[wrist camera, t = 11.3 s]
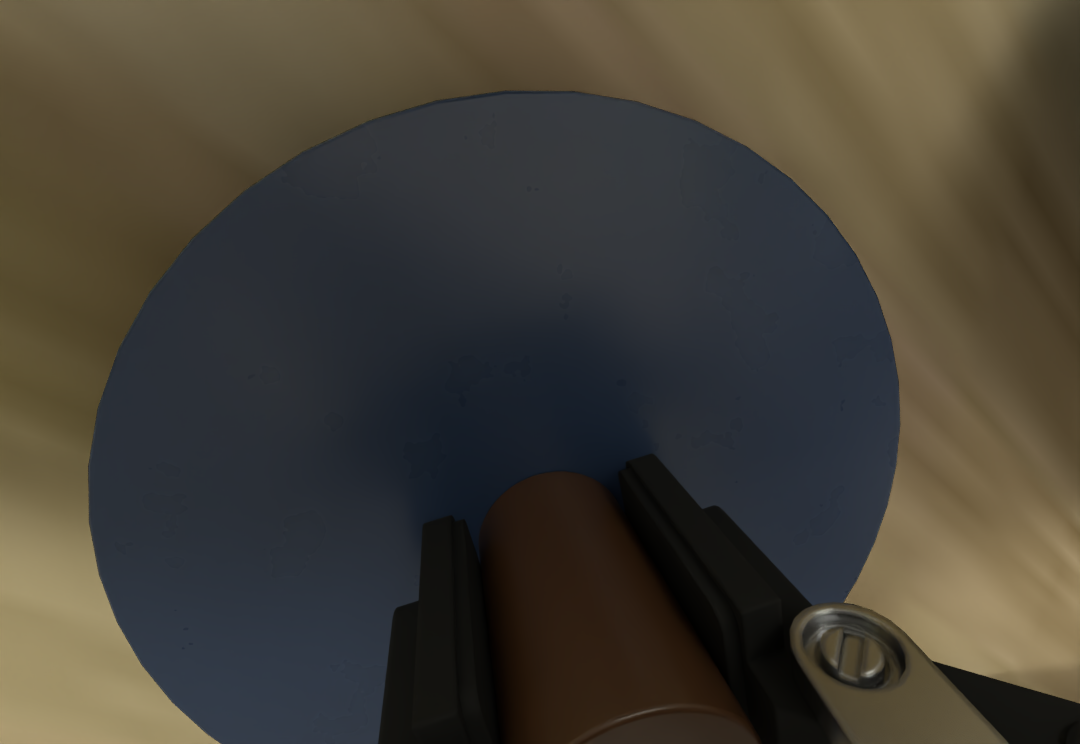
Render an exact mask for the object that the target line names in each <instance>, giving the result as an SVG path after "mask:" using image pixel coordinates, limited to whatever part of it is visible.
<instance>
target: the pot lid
mask: <svg viewBox="0 0 1080 744" xmlns="http://www.w3.org/2000/svg"><path fill="white" fill-rule="evenodd" d="M899 432H900V404H899V381H898V375H897V369H896V363H895V358H894V352H893V346H892V341H891V337H890V334H889V331H888V328H887V325H886V322H885V319H884V316H883V313H882V310H881V307H880V303H879V300H878V297H877V295H876V293H875V291H874V289H873V287H872V285H871V283H870V281H869V279H868V277H867V275H866V273H865V272H864V270H863V268H862V266H861V264H860V262H859V260H858V258H857V256H856V254H855V253H854V251H853V250H852V249H851V247H850V246H849V244H848V243H847V242H846V240H845V239H844V238H843V236H842V235H841V233H840V232H839V231H838V229H837V228H836V226H835V225H834V224H833V222H832V221H831V220H830V218H829V217H828V215H827V214H826V213H825V212H824V211H823V210H822V209H821V208H820V207H819V206H818V205H817V204H816V203H815V202H814V201H813V200H812V199H811V198H810V197H809V196H808V195H807V194H806V193H805V192H804V191H803V190H802V189H801V188H800V187H799V186H798V185H797V184H796V183H795V182H794V181H793V180H792V179H791V178H789V177H788V176H787V175H785V174H784V173H782V172H781V171H780V170H778V169H777V168H775V167H774V166H773V165H771V164H770V163H769V162H767V161H766V160H764V159H763V158H762V157H760V156H759V155H758V154H756V153H755V152H753V151H752V150H751V149H749V148H748V147H747V146H745V145H743V144H741V143H739V142H737V141H735V140H733V139H731V138H729V137H727V136H725V135H723V134H721V133H719V132H717V131H715V130H713V129H711V128H709V127H707V126H705V125H703V124H701V123H699V122H697V121H695V120H693V119H690V118H687V117H683V116H680V115H677V114H674V113H671V112H668V111H665V110H662V109H659V108H656V107H653V106H650V105H646V104H643V103H640V102H637V101H631V100H625V99H619V98H613V97H607V96H600V95H594V94H588V93H582V92H575V91H499V92H492V93H485V94H478V95H471V96H464V97H457V98H450V99H443V100H436V101H433V102H430V103H426V104H423V105H419V106H416V107H413V108H409V109H406V110H403V111H399V112H396V113H393V114H389V115H386V116H383V117H379V118H376V119H372V120H369V121H367V122H365V123H362V124H360V125H358V126H356V127H354V128H352V129H350V130H347V131H345V132H343V133H341V134H339V135H337V136H335V137H333V138H330V139H328V140H326V141H324V142H322V143H320V144H318V145H315V146H313V147H311V148H309V149H307V150H305V151H303V152H301V153H300V154H298V155H297V156H295V157H294V158H292V159H291V160H289V161H288V162H286V163H285V164H283V165H282V166H280V167H279V168H277V169H276V170H274V171H273V172H271V173H270V174H268V175H267V176H265V177H264V178H262V179H261V180H259V181H258V182H256V183H255V184H253V185H252V186H250V187H249V188H247V189H246V190H244V191H243V192H242V193H241V194H240V195H239V196H238V197H237V198H236V199H234V200H233V201H232V202H231V203H230V204H229V205H228V206H227V207H226V208H225V209H224V210H223V211H221V212H220V213H219V214H218V215H217V216H216V217H215V218H214V219H213V220H212V221H211V222H209V223H208V224H207V225H206V226H205V227H204V228H203V229H202V230H201V231H200V232H199V233H197V234H196V235H195V236H194V237H193V238H192V239H191V240H190V242H189V243H188V244H187V246H186V247H185V248H184V249H183V251H182V252H181V253H180V254H179V256H178V257H177V258H176V259H175V261H174V262H173V263H172V265H171V266H170V267H169V268H168V270H167V271H166V272H165V273H164V275H163V276H162V277H161V278H160V280H159V281H158V282H157V283H156V285H155V286H154V287H153V289H152V290H151V291H150V293H149V294H148V296H147V298H146V300H145V302H144V304H143V305H142V307H141V309H140V311H139V313H138V314H137V316H136V318H135V320H134V322H133V323H132V325H131V327H130V329H129V331H128V332H127V334H126V336H125V338H124V340H123V341H122V343H121V345H120V347H119V349H118V352H117V355H116V357H115V360H114V363H113V366H112V369H111V372H110V375H109V378H108V380H107V383H106V386H105V389H104V392H103V395H102V398H101V400H100V403H99V406H98V410H97V416H96V422H95V428H94V434H93V441H92V447H91V453H90V459H89V465H88V485H89V525H90V530H91V535H92V541H93V546H94V551H95V556H96V562H97V567H98V572H99V576H100V579H101V581H102V584H103V587H104V589H105V592H106V594H107V597H108V600H109V602H110V605H111V608H112V610H113V613H114V616H115V618H116V621H117V623H118V625H119V627H120V628H121V630H122V632H123V634H124V635H125V637H126V639H127V640H128V642H129V644H130V646H131V647H132V649H133V651H134V652H135V654H136V656H137V658H138V659H139V661H140V663H141V665H142V666H143V667H144V668H145V670H146V671H147V672H148V673H149V674H150V676H151V677H152V678H153V679H154V681H155V682H156V683H157V684H158V686H159V687H160V688H161V689H162V690H163V692H164V693H165V694H166V695H167V697H168V698H169V699H170V700H171V701H172V703H174V704H175V705H176V706H177V707H178V708H179V709H180V710H181V711H182V712H183V713H184V714H186V715H187V716H188V717H189V718H190V719H191V720H192V721H193V722H194V723H195V724H197V725H198V726H199V727H200V728H201V729H202V730H203V731H204V732H205V733H206V734H208V735H209V736H211V737H212V738H214V739H215V740H217V741H218V742H219V743H221V744H378V739H379V731H380V722H381V714H382V705H383V696H384V688H385V679H386V670H387V662H388V653H389V644H390V636H391V627H392V619H393V614H394V611H395V609H396V608H397V607H400V606H403V605H406V604H409V603H412V602H415V601H418V600H419V583H420V564H421V546H422V528H423V524H424V523H426V522H430V521H433V520H436V519H439V518H443V517H446V516H449V515H452V516H453V517H454V519H455V522H456V521H459V520H462V519H465V521H466V523H467V526H468V529H469V532H470V535H471V538H472V541H473V544H474V547H475V550H476V553H477V556H478V559H479V562H480V565H481V572H482V580H483V589H484V598H485V607H486V615H487V624H488V633H489V642H490V650H491V659H492V668H493V677H494V686H495V694H496V703H497V712H498V721H499V729H500V738H501V744H762V742H761V740H760V737H759V735H758V734H757V732H756V730H755V729H754V727H753V725H752V724H751V722H750V720H749V719H748V717H747V715H746V714H745V712H744V710H743V709H742V707H741V705H740V704H739V702H738V700H737V699H736V697H735V696H734V694H733V692H732V691H731V689H730V687H729V686H728V684H727V682H726V681H725V679H724V677H723V676H722V674H721V672H720V671H719V669H718V667H717V666H716V664H715V662H714V661H713V659H712V657H711V656H710V654H709V652H708V651H707V649H706V648H705V646H704V644H703V643H702V641H701V639H700V638H699V636H698V634H697V633H696V631H695V629H694V628H693V626H692V624H691V623H690V621H689V619H688V618H687V616H686V614H685V613H684V611H683V609H682V608H681V606H680V604H679V603H678V601H677V600H676V598H675V596H674V595H673V593H672V591H671V590H670V588H669V586H668V585H667V583H666V581H665V580H664V578H663V576H662V575H661V573H660V571H659V570H658V568H657V566H656V565H655V563H654V561H653V560H652V558H651V556H650V555H649V553H648V552H647V550H646V548H645V547H644V545H643V543H642V542H641V540H640V538H639V537H638V535H637V533H636V532H635V530H634V528H633V527H632V525H631V523H630V522H629V520H628V518H627V517H626V513H625V507H624V502H623V497H622V492H621V487H620V482H619V477H618V472H619V471H621V470H624V469H626V461H628V460H632V459H635V458H638V457H642V456H645V455H648V454H651V453H652V454H654V455H656V456H657V458H658V459H659V460H660V461H661V462H662V463H663V464H664V466H665V467H666V468H667V469H668V470H669V471H670V472H671V474H672V475H673V476H674V477H675V478H676V479H677V481H678V482H679V483H680V484H681V485H682V486H683V487H684V489H685V490H686V491H687V492H688V493H689V494H690V496H691V497H692V498H693V499H694V500H695V501H696V502H697V504H698V505H699V506H700V507H701V508H702V509H704V508H707V507H710V506H713V505H716V506H719V507H720V508H721V509H722V510H724V511H725V512H726V514H727V515H728V516H729V517H730V518H731V519H732V520H733V521H734V522H735V523H736V524H737V525H738V526H739V527H740V528H741V530H742V531H743V532H744V533H745V534H746V535H747V536H748V537H749V538H750V539H751V540H752V541H753V542H754V543H755V545H756V546H757V547H758V548H759V549H760V550H761V551H762V552H763V553H764V554H765V555H766V556H767V557H768V558H769V559H770V561H771V562H772V563H773V564H774V565H775V566H776V567H777V568H778V569H779V570H780V571H781V572H782V573H783V574H784V576H785V577H786V578H787V579H788V580H789V581H790V582H791V583H792V584H793V585H794V586H795V587H796V588H797V589H798V590H799V592H800V593H801V594H802V595H803V596H804V597H805V598H806V599H807V600H808V601H809V602H810V603H811V604H812V605H816V604H820V603H829V602H839V603H843V602H844V601H845V599H846V597H847V596H848V594H849V592H850V591H851V589H852V587H853V586H854V584H855V582H856V581H857V579H858V577H859V575H860V573H861V570H862V568H863V566H864V564H865V562H866V560H867V558H868V556H869V554H870V551H871V549H872V547H873V545H874V543H875V540H876V537H877V534H878V531H879V528H880V525H881V523H882V520H883V517H884V514H885V511H886V508H887V505H888V501H889V496H890V492H891V487H892V483H893V478H894V474H895V469H896V463H897V453H898V442H899Z"/></svg>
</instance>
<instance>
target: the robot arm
mask: <svg viewBox="0 0 1080 744" xmlns="http://www.w3.org/2000/svg"><path fill="white" fill-rule="evenodd" d="M618 477H619V482H620V487H621V492H622V497H623V502H624V507H625V513H626V517H627V518H628V520H629V522H630V523H631V525H632V527H633V528H634V530H635V532H636V533H637V535H638V537H639V538H640V540H641V542H642V543H643V545H644V547H645V548H646V550H647V552H648V553H649V555H650V556H651V558H652V560H653V561H654V563H655V565H656V566H657V568H658V570H659V571H660V573H661V575H662V576H663V578H664V580H665V581H666V583H667V585H668V586H669V588H670V590H671V591H672V593H673V595H674V596H675V598H676V600H677V601H678V603H679V604H680V606H681V608H682V609H683V611H684V613H685V614H686V616H687V618H688V619H689V621H690V623H691V624H692V626H693V628H694V629H695V631H696V633H697V634H698V636H699V638H700V639H701V641H702V643H703V644H704V646H705V648H706V649H707V651H708V652H709V654H710V656H711V657H712V659H713V661H714V662H715V664H716V666H717V667H718V669H719V671H720V672H721V674H722V676H723V677H724V679H725V681H726V682H727V684H728V686H729V687H730V689H731V691H732V692H733V694H734V696H735V697H736V699H737V700H738V702H739V704H740V705H741V707H742V709H743V710H744V712H745V714H746V715H747V717H748V719H749V720H750V722H751V724H752V725H753V727H754V729H755V730H756V732H757V734H758V735H759V737H760V740H761V742H762V744H1080V704H1079V703H1076V702H1072V701H1069V700H1065V699H1062V698H1058V697H1055V696H1051V695H1048V694H1045V693H1041V692H1038V691H1034V690H1031V689H1027V688H1024V687H1020V686H1017V685H1013V684H1010V683H1006V682H1003V681H999V680H996V679H993V678H989V677H986V676H982V675H979V674H975V673H972V672H968V671H965V670H961V669H958V668H954V667H951V666H948V665H944V664H941V663H937V662H934V661H931V660H930V659H929V658H928V657H927V655H926V654H925V653H924V652H923V651H922V650H921V649H920V648H919V647H918V646H917V645H916V644H915V643H914V642H913V641H912V639H911V638H910V637H909V636H908V635H907V634H906V633H905V632H904V631H902V630H901V629H900V628H899V627H898V626H896V625H895V624H894V623H893V622H892V621H891V620H889V619H887V618H885V617H883V616H882V615H880V614H878V613H876V612H874V611H872V610H870V609H867V608H863V607H860V606H857V605H854V604H848V603H839V602H829V603H820V604H816V605H812V604H811V603H810V602H809V601H808V600H807V599H806V598H805V597H804V596H803V595H802V594H801V593H800V592H799V590H798V589H797V588H796V587H795V586H794V585H793V584H792V583H791V582H790V581H789V580H788V579H787V578H786V577H785V576H784V574H783V573H782V572H781V571H780V570H779V569H778V568H777V567H776V566H775V565H774V564H773V563H772V562H771V561H770V559H769V558H768V557H767V556H766V555H765V554H764V553H763V552H762V551H761V550H760V549H759V548H758V547H757V546H756V545H755V543H754V542H753V541H752V540H751V539H750V538H749V537H748V536H747V535H746V534H745V533H744V532H743V531H742V530H741V528H740V527H739V526H738V525H737V524H736V523H735V522H734V521H733V520H732V519H731V518H730V517H729V516H728V515H727V514H726V512H725V511H724V510H722V509H721V508H720V507H719V506H716V505H713V506H710V507H707V508H704V509H702V508H701V507H700V506H699V505H698V504H697V502H696V501H695V500H694V499H693V498H692V497H691V496H690V494H689V493H688V492H687V491H686V490H685V489H684V487H683V486H682V485H681V484H680V483H679V482H678V481H677V479H676V478H675V477H674V476H673V475H672V474H671V472H670V471H669V470H668V469H667V468H666V467H665V466H664V464H663V463H662V462H661V461H660V460H659V459H658V458H657V456H656V455H654V454H652V453H651V454H648V455H645V456H642V457H638V458H635V459H632V460H628V461H626V469H624V470H621V471H619V472H618ZM378 744H501V738H500V729H499V721H498V712H497V703H496V694H495V686H494V677H493V668H492V659H491V650H490V642H489V633H488V624H487V615H486V607H485V598H484V589H483V580H482V572H481V565H480V562H479V559H478V556H477V553H476V550H475V547H474V544H473V541H472V538H471V535H470V532H469V529H468V526H467V523H466V521H465V519H462V520H459V521H456V522H455V519H454V517H453V516H452V515H449V516H446V517H443V518H439V519H436V520H433V521H430V522H426V523H424V524H423V528H422V546H421V564H420V583H419V600H418V601H415V602H412V603H409V604H406V605H403V606H400V607H397V608H396V609H395V611H394V614H393V619H392V627H391V636H390V644H389V653H388V662H387V670H386V679H385V688H384V696H383V705H382V714H381V722H380V731H379V739H378Z"/></svg>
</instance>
